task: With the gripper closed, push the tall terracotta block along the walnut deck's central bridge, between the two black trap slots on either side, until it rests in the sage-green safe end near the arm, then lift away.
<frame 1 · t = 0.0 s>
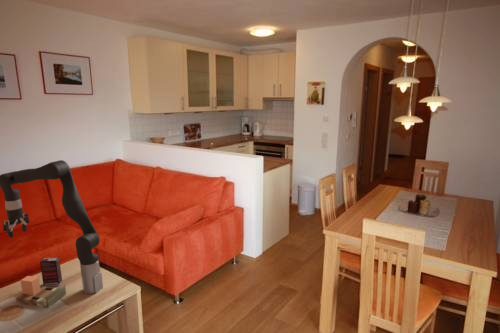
hand: (18, 234, 185), 29 cm above the table, fingers open, 8 cm apart
deck: (41, 298, 173), on the table
block: (31, 292, 174), point 3 cm above the table, touching deck
supplement box: (53, 284, 187), on the table
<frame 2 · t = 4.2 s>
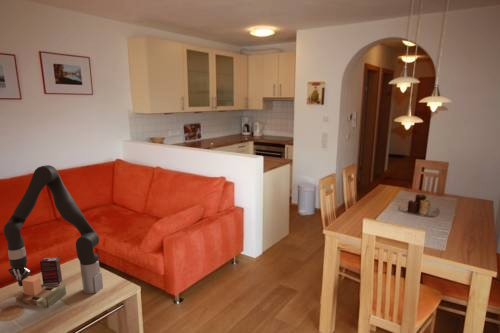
hand: (21, 285, 174), 6 cm above the table, fingers closed
block: (32, 292, 174), point 3 cm above the table, touching gripper, hand
everything else where it was.
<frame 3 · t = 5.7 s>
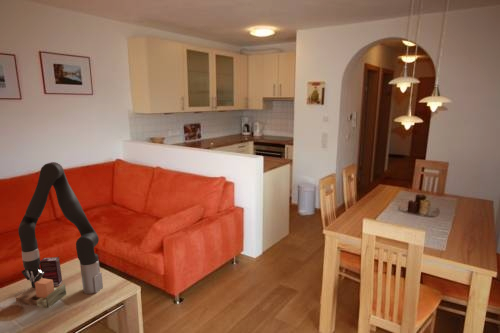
hand: (35, 287, 173), 6 cm above the table, fingers closed
block: (45, 294, 172), point 3 cm above the table, touching gripper
everything else where it was.
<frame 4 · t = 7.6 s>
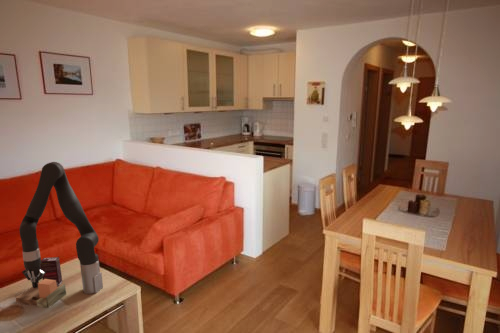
hand: (35, 287, 172), 7 cm above the table, fingers closed
block: (48, 295, 171), point 3 cm above the table, touching deck
everything else where it was.
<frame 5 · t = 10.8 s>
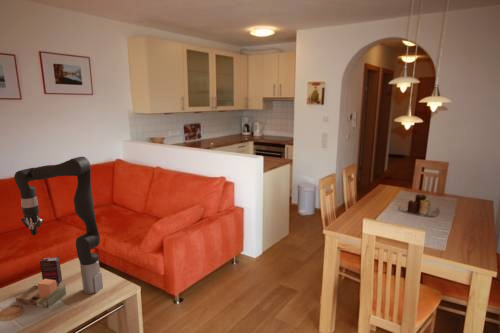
hand: (34, 234, 180), 31 cm above the table, fingers closed
nothing on the table moved.
at the end: block 0.7 cm from the target spot on the deck, point 3.0 cm above the deck's base; block tilted 0° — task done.
